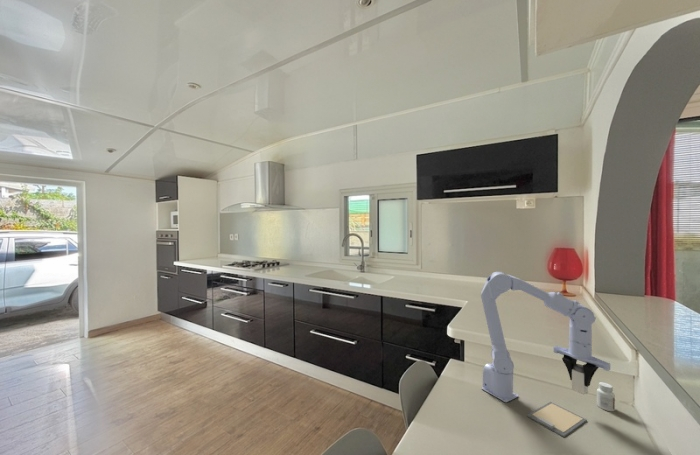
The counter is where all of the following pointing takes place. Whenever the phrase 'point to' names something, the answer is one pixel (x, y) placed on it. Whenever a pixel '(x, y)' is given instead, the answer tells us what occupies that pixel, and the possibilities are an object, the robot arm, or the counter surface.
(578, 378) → the block with domed cap
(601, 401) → the pill bottle
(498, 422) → the counter surface
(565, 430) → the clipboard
